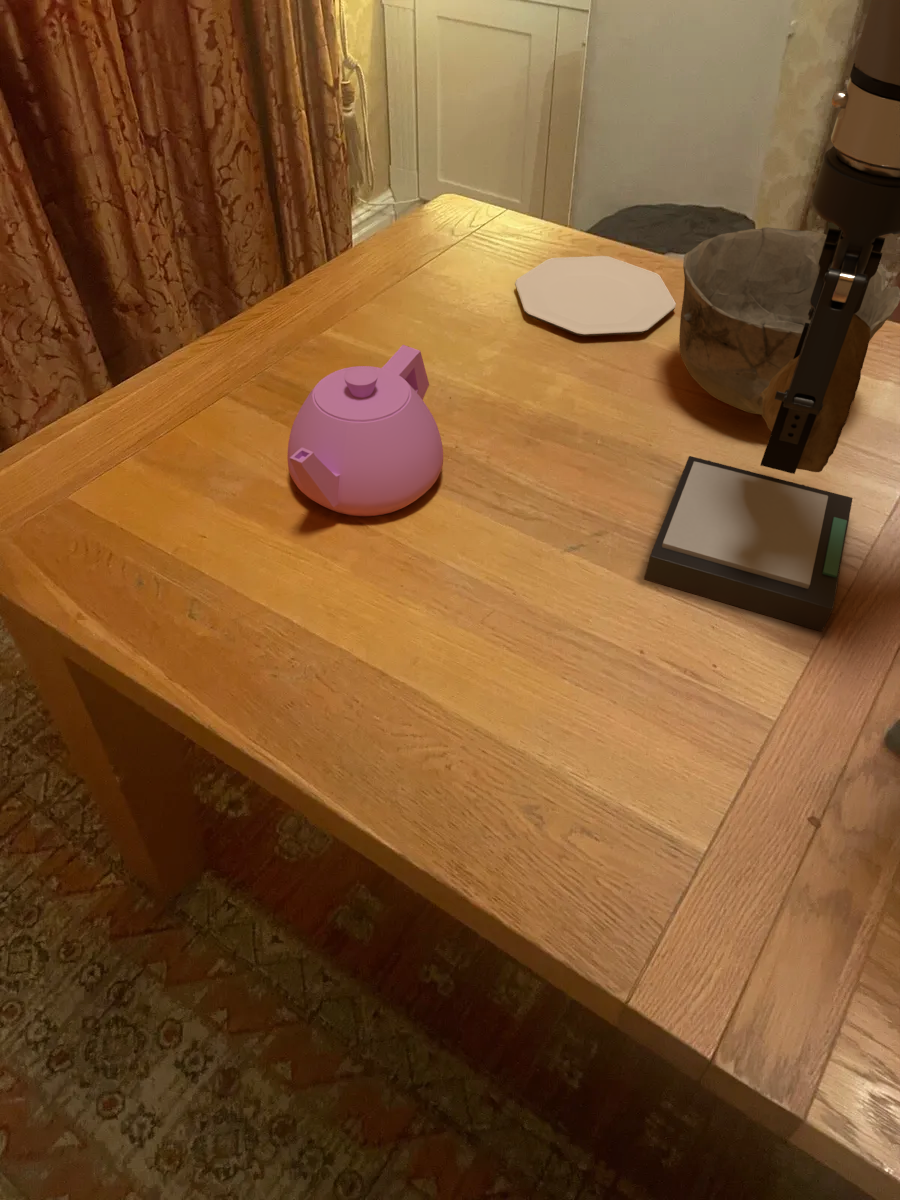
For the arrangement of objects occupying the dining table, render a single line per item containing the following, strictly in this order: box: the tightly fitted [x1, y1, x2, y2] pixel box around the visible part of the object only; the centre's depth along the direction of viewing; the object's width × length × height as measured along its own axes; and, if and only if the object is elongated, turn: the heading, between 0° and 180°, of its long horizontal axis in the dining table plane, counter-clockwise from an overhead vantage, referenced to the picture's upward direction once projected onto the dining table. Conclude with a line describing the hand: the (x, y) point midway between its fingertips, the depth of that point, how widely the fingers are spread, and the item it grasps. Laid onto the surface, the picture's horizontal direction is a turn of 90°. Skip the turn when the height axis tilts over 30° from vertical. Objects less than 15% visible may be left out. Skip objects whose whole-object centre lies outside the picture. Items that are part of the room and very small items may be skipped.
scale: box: [644, 455, 853, 632], centre depth 85 cm, size 16×16×4 cm
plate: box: [514, 255, 677, 337], centre depth 118 cm, size 20×20×2 cm
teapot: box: [286, 344, 444, 517], centre depth 89 cm, size 22×16×12 cm
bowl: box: [678, 226, 900, 416], centre depth 99 cm, size 22×22×15 cm
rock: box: [760, 314, 871, 473], centre depth 74 cm, size 11×9×10 cm
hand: (788, 429), depth 76 cm, fingers closed on rock, 10 cm apart
